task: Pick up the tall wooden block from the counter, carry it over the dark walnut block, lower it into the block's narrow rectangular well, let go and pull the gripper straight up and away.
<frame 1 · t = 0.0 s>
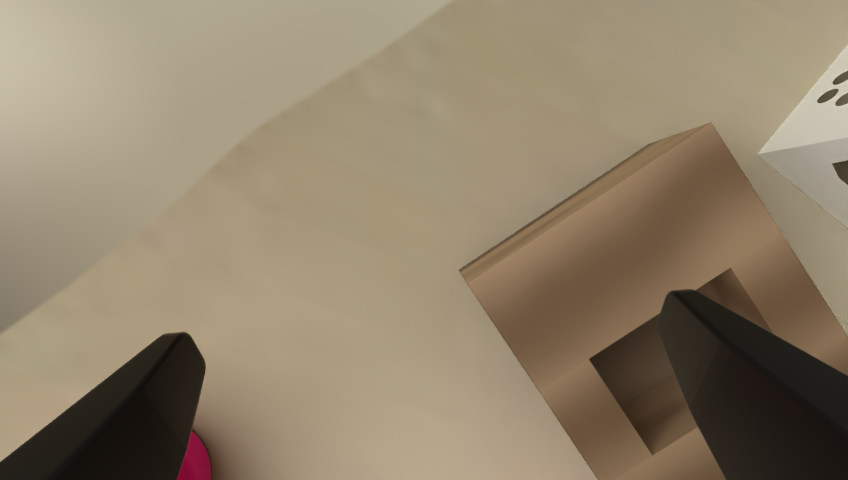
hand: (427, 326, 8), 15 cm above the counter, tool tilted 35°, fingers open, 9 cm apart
pepper mill: (159, 467, 24), on the counter
well block: (634, 331, 23), on the counter
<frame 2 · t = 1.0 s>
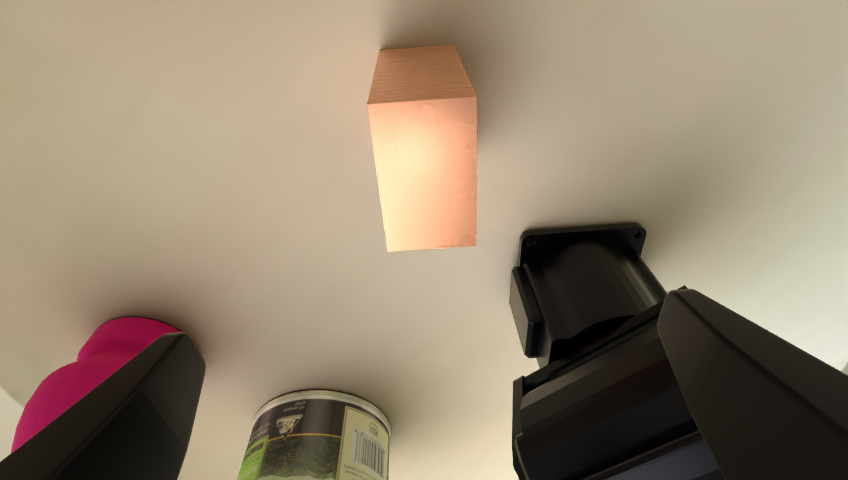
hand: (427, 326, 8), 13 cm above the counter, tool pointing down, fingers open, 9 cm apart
pepper mill: (151, 348, 27), on the counter
coffee can: (324, 428, 33), on the counter
tall wooden block: (420, 108, 19), on the counter
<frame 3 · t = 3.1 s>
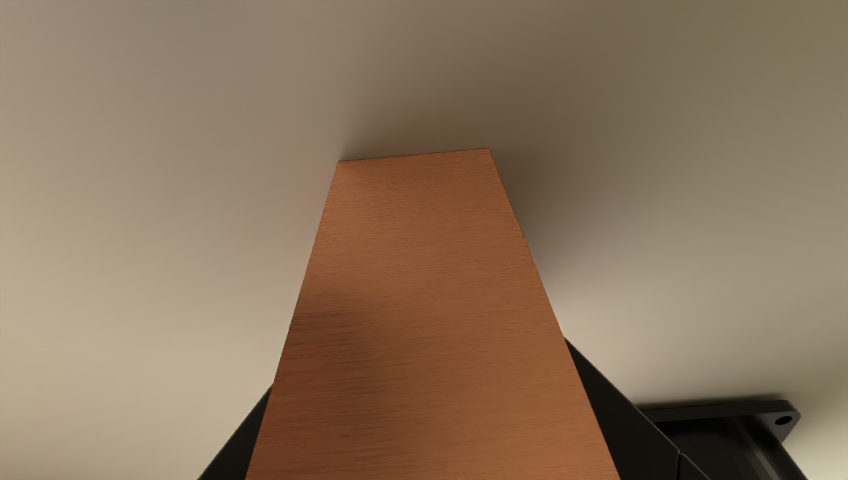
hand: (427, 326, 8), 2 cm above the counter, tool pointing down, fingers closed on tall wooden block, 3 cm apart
tall wooden block: (423, 254, 10), on the counter, touching gripper
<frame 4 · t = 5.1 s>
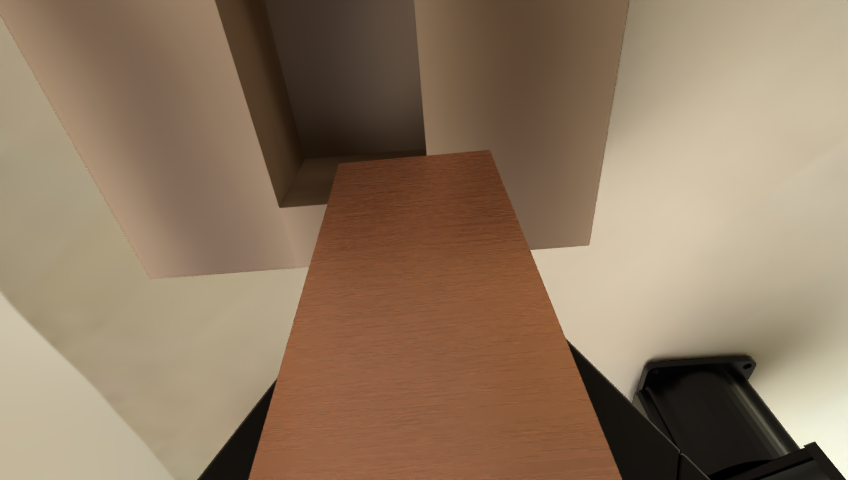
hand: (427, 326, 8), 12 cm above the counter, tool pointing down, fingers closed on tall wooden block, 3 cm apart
well block: (353, 57, 16), on the counter
tall wooden block: (424, 256, 10), point 9 cm above the counter, touching gripper
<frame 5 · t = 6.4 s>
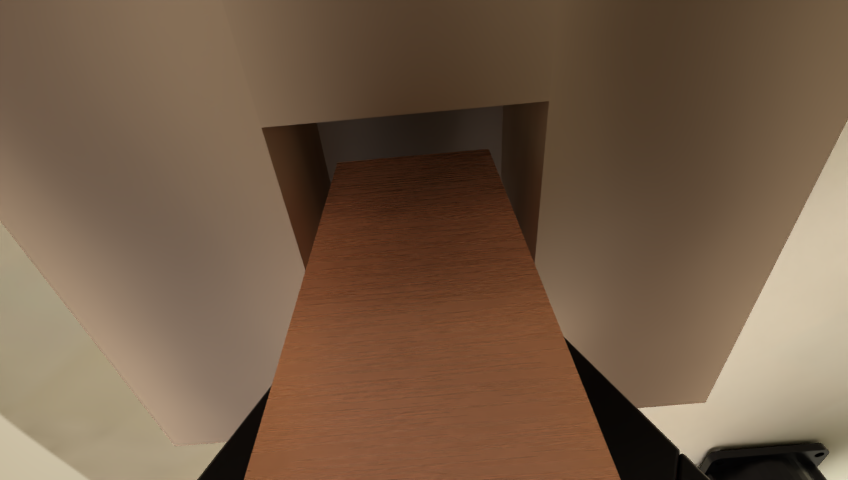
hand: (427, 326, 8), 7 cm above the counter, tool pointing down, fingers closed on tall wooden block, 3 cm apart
well block: (415, 169, 14), on the counter
tall wooden block: (423, 255, 10), point 4 cm above the counter, touching gripper
when the fingers open (6 cm above the counter, at t = 7.2 s): tall wooden block drops 3 cm, resting on well block.
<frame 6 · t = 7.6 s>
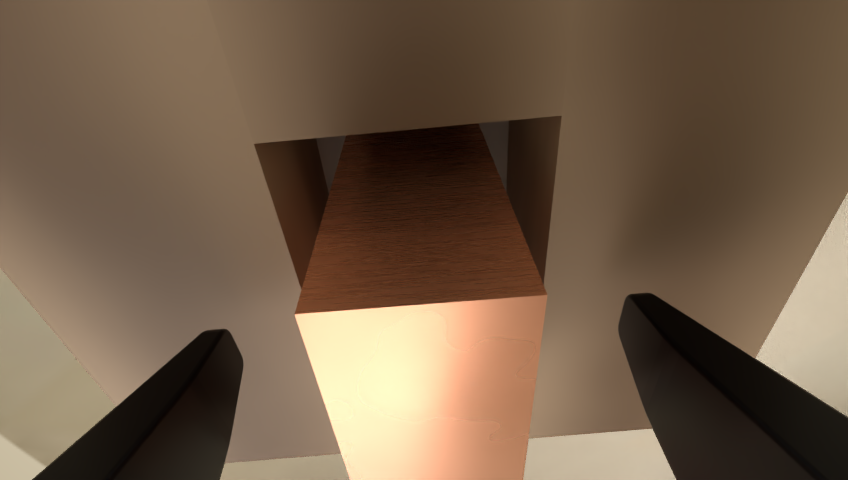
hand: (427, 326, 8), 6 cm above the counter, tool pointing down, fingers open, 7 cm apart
well block: (417, 180, 13), on the counter
tall wooden block: (418, 196, 12), point 1 cm above the counter, touching well block
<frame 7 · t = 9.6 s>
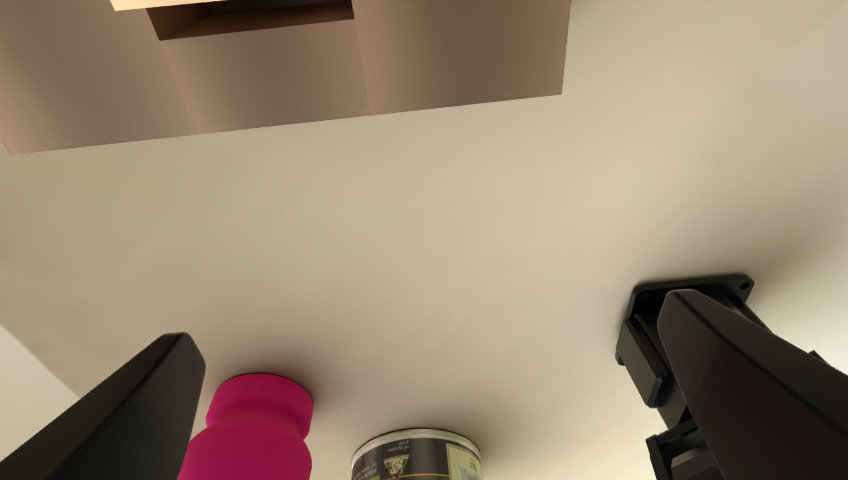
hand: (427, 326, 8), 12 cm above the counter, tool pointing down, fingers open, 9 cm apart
pepper mill: (265, 399, 28), on the counter
coffee can: (416, 460, 34), on the counter
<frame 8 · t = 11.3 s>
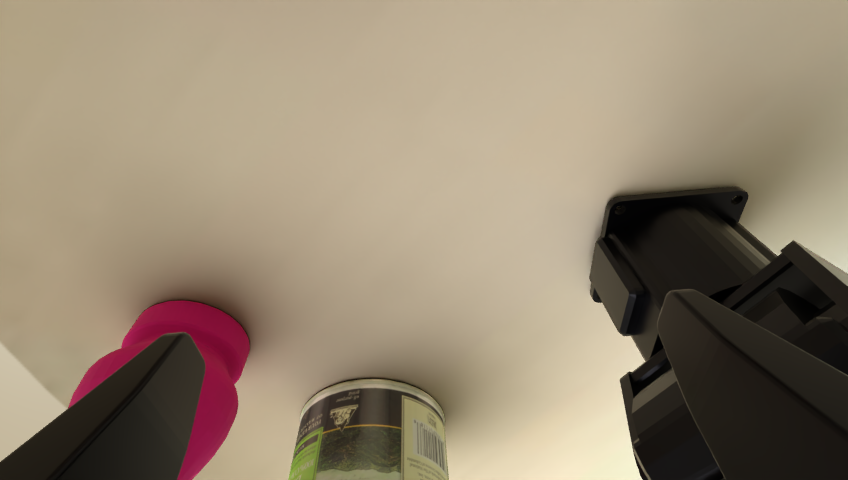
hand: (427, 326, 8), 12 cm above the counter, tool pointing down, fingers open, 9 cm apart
pepper mill: (196, 335, 25), on the counter
coffee can: (373, 420, 31), on the counter
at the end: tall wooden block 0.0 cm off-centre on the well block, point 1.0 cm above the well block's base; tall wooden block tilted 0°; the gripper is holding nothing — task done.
